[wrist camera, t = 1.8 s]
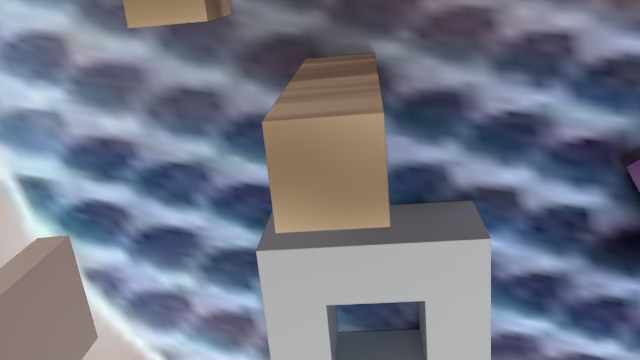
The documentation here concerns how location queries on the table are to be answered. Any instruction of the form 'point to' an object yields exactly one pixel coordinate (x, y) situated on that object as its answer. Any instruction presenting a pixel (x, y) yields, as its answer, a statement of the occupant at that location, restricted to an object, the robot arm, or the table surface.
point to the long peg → (328, 148)
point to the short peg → (173, 11)
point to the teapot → (635, 173)
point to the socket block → (381, 286)
